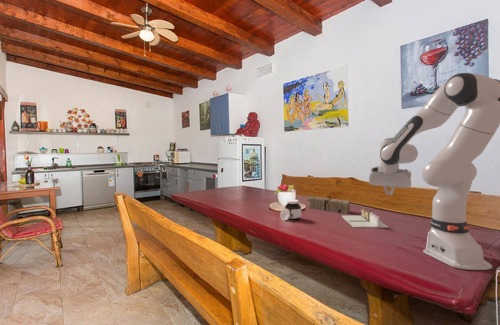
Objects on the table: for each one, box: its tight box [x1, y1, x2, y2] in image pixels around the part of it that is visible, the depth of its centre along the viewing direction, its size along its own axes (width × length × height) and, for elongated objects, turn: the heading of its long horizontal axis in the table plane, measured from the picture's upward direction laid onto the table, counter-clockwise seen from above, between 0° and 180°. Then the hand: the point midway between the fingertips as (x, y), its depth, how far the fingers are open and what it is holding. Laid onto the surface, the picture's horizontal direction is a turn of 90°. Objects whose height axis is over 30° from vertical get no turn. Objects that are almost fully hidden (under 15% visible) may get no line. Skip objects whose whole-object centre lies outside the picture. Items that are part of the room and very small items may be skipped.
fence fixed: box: [360, 206, 372, 221], centre depth 161 cm, size 13×2×7 cm, turn 176°
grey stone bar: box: [307, 195, 351, 215], centre depth 188 cm, size 8×8×29 cm
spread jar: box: [279, 199, 302, 221], centre depth 165 cm, size 12×11×12 cm
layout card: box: [341, 215, 390, 229], centre depth 157 cm, size 24×19×1 cm
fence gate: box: [370, 211, 381, 227], centre depth 149 cm, size 11×1×5 cm, turn 176°
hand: (389, 194), depth 140 cm, fingers closed
